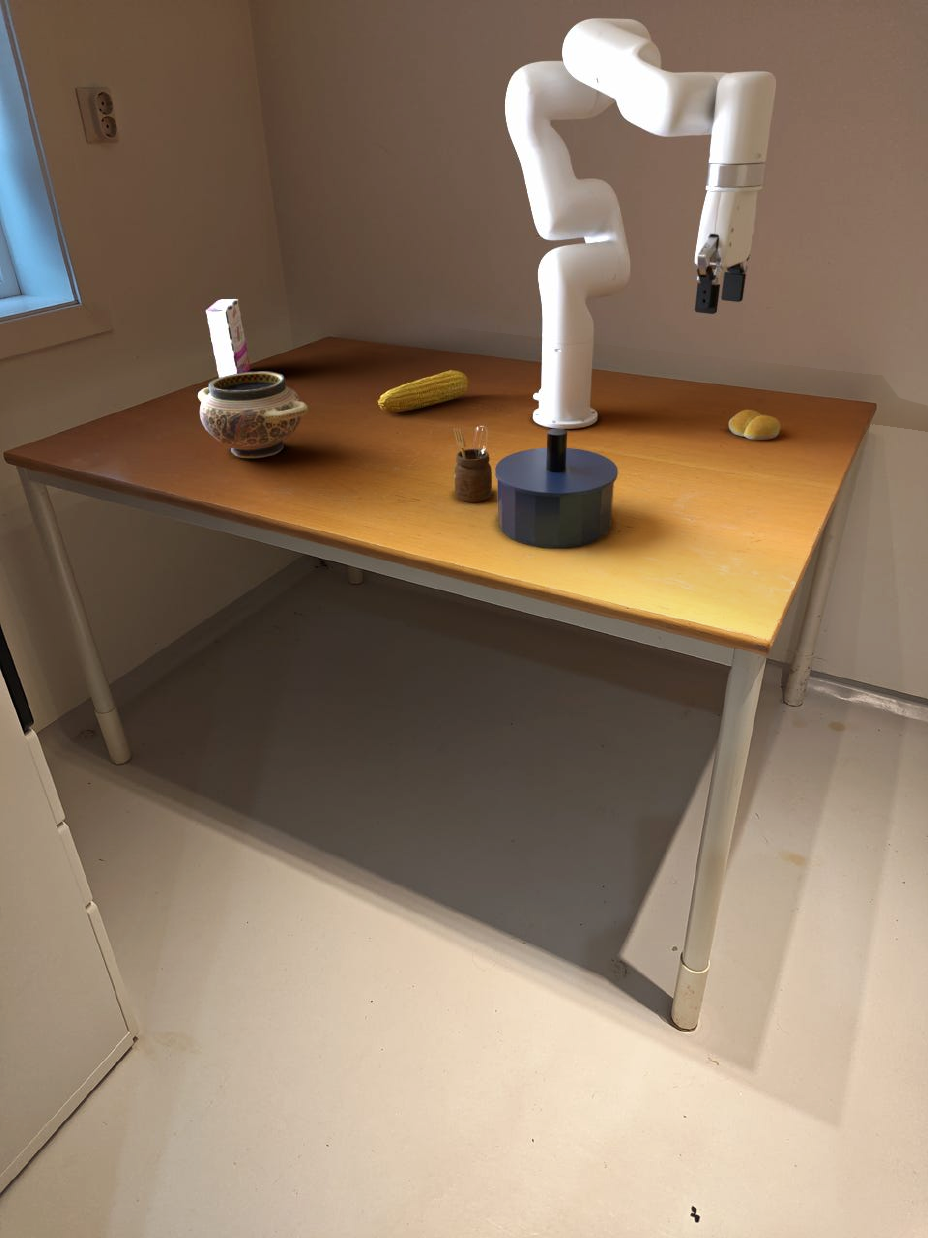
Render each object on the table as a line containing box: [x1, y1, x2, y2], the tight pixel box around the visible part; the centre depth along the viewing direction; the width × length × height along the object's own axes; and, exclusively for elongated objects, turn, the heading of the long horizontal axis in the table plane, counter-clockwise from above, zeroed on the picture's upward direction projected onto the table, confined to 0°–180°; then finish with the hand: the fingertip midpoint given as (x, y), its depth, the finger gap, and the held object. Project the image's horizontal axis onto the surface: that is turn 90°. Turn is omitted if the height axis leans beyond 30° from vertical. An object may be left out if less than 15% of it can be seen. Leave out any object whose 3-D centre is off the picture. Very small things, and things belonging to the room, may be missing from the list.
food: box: [377, 369, 469, 413], centre depth 173 cm, size 21×6×6 cm, turn 128°
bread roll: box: [728, 409, 781, 441], centre depth 155 cm, size 8×9×4 cm
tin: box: [496, 478, 615, 549], centre depth 123 cm, size 17×17×8 cm
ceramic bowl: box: [197, 370, 309, 459], centre depth 152 cm, size 24×18×15 cm
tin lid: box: [494, 428, 619, 497], centre depth 120 cm, size 18×18×7 cm
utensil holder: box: [453, 425, 493, 503], centre depth 132 cm, size 6×6×12 cm
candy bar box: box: [205, 298, 251, 378], centre depth 193 cm, size 11×5×16 cm, turn 179°
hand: (718, 306), depth 125 cm, fingers open, 9 cm apart
